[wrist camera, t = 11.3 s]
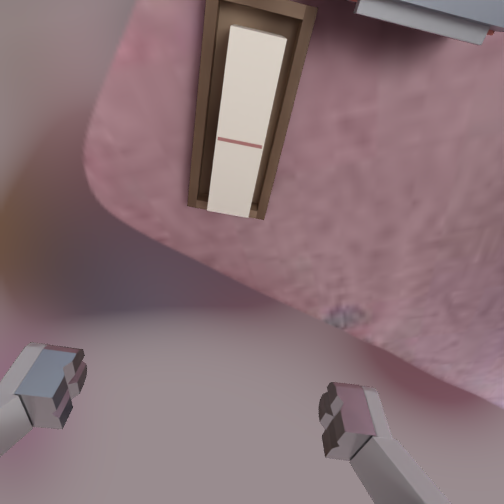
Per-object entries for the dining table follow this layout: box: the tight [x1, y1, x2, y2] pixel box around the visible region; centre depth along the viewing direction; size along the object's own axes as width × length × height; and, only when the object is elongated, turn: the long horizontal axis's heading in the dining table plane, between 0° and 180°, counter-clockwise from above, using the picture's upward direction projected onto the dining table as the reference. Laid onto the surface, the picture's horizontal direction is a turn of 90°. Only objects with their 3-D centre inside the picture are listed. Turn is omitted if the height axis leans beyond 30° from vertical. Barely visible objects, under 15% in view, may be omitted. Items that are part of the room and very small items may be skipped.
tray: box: [187, 0, 318, 220], centre depth 23 cm, size 6×14×2 cm, turn 169°
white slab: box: [207, 24, 287, 218], centre depth 22 cm, size 3×11×5 cm, turn 169°
